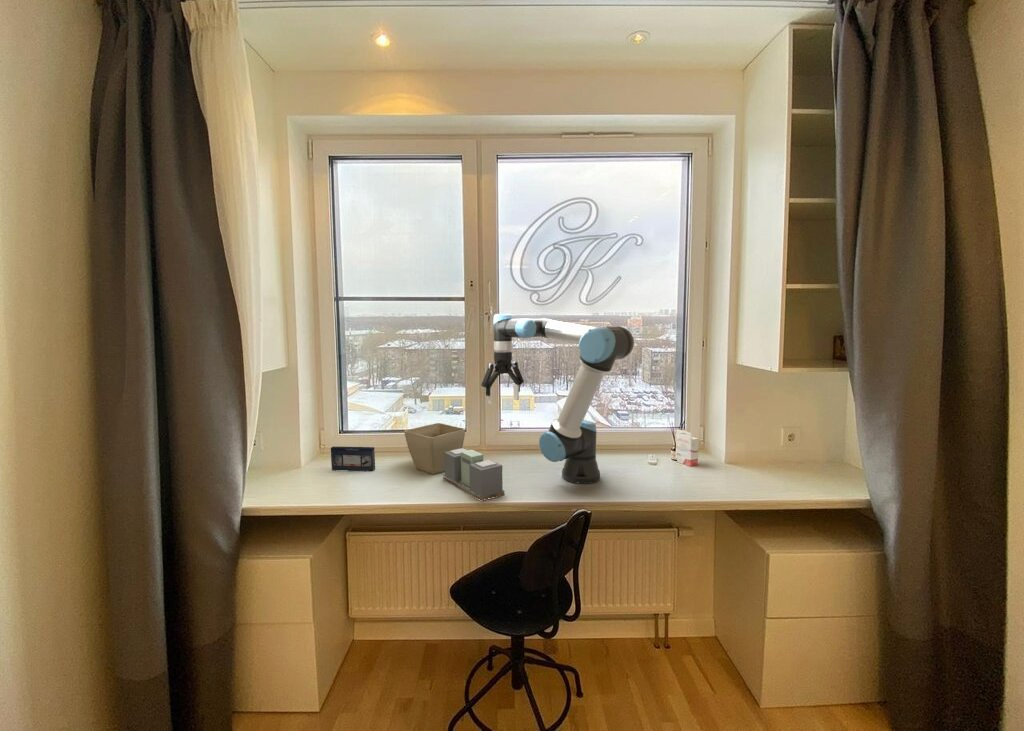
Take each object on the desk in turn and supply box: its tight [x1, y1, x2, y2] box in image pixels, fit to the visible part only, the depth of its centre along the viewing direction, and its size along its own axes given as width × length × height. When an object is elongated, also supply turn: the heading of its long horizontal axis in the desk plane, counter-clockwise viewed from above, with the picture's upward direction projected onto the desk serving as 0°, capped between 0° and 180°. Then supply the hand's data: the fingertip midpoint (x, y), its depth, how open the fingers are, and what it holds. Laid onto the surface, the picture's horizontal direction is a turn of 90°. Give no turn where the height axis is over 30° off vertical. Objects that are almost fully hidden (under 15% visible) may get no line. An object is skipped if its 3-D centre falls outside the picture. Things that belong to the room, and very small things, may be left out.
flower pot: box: [403, 422, 466, 475], centre depth 192 cm, size 19×19×17 cm
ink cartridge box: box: [675, 428, 699, 467], centre depth 197 cm, size 9×5×15 cm, turn 28°
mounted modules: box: [444, 447, 504, 497], centre depth 171 cm, size 9×27×11 cm, turn 37°
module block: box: [461, 449, 484, 487], centre depth 171 cm, size 5×8×12 cm, turn 37°
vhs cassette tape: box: [330, 446, 376, 472], centre depth 191 cm, size 18×3×10 cm, turn 83°
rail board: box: [442, 474, 506, 501], centre depth 171 cm, size 10×28×2 cm, turn 37°
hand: (503, 401), depth 190 cm, fingers open, 13 cm apart
